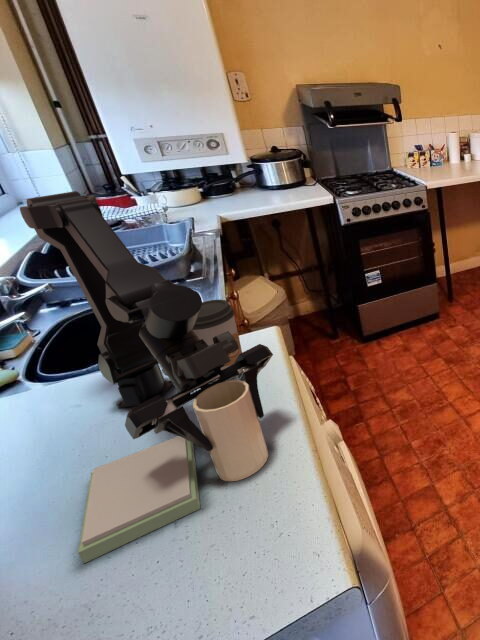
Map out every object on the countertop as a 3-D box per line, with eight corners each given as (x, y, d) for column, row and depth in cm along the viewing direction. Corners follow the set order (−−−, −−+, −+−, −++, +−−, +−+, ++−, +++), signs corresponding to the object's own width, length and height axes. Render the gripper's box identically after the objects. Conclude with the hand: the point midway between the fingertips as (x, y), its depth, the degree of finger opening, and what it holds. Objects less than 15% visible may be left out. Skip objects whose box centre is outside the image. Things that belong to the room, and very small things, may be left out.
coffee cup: (228, 388, 84) (206, 320, 79) (192, 383, 86) (168, 317, 81) (259, 363, 92) (241, 299, 86) (225, 359, 94) (206, 296, 88)
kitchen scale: (96, 480, 65) (89, 466, 64) (193, 442, 72) (188, 428, 71) (84, 563, 54) (75, 548, 53) (200, 508, 60) (194, 493, 59)
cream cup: (230, 448, 70) (208, 382, 65) (274, 443, 71) (256, 377, 66) (209, 484, 64) (182, 413, 59) (258, 478, 65) (235, 408, 60)
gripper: (102, 360, 53) (174, 463, 52) (252, 298, 68) (310, 378, 67) (99, 392, 60) (163, 484, 59) (236, 329, 75) (289, 402, 74)
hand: (238, 432), depth 64 cm, fingers open, 7 cm apart
